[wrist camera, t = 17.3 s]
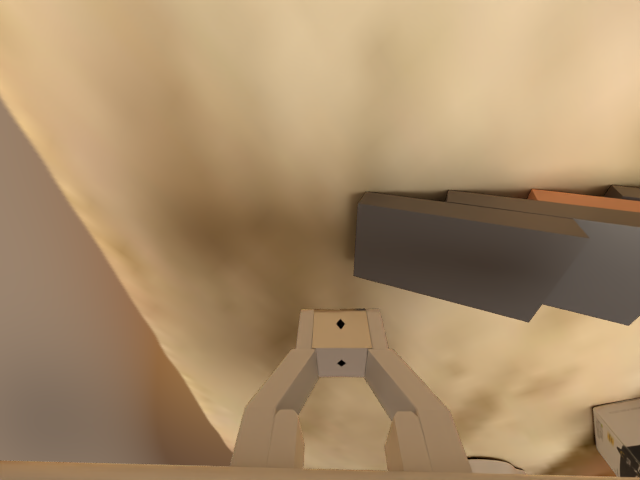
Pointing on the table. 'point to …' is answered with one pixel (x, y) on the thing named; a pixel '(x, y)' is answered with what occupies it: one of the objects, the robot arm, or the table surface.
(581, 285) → the domino
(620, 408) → the tea box
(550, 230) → the domino
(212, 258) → the table surface
